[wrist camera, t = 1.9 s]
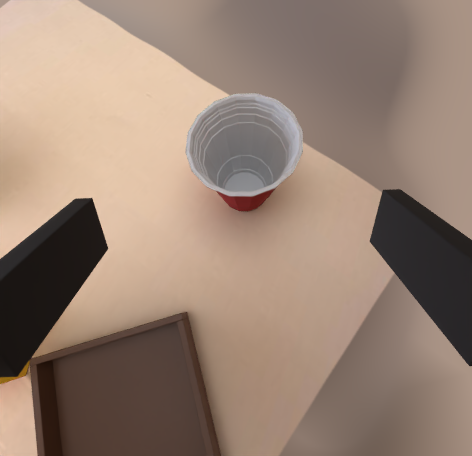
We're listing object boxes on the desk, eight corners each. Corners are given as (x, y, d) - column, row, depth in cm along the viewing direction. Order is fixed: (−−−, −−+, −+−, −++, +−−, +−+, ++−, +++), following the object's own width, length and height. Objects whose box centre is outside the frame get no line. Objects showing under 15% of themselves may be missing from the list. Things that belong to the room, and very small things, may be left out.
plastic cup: (214, 147, 38) (202, 79, 26) (291, 163, 37) (313, 101, 25) (192, 219, 35) (167, 179, 24) (274, 239, 34) (290, 207, 23)
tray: (224, 471, 28) (222, 491, 25) (67, 524, 27) (45, 552, 24) (187, 311, 32) (181, 312, 29) (49, 353, 31) (28, 359, 28)
